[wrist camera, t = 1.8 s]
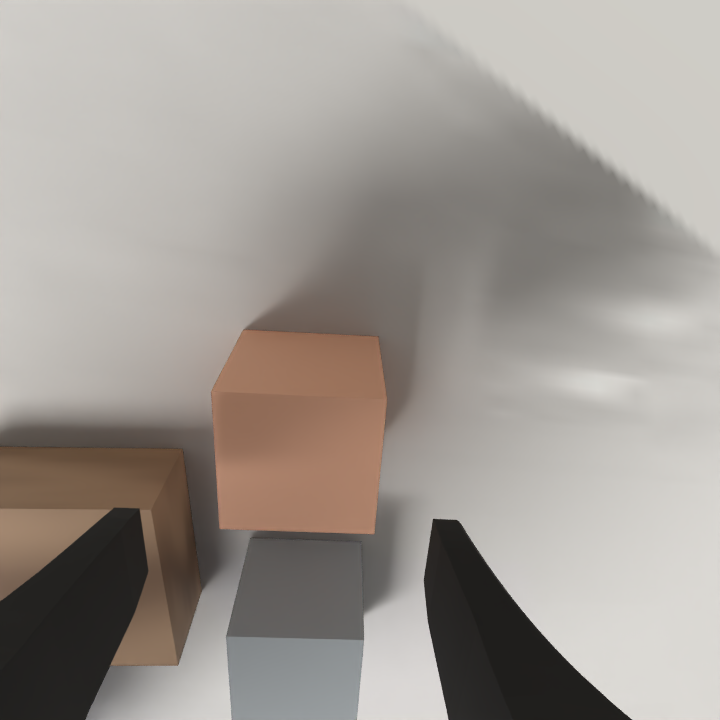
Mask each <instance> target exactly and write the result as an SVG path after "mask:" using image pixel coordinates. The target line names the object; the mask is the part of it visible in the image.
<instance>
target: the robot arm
mask: <svg viewBox="0 0 720 720" xmlns="http://www.w3.org/2000/svg"><path fill="white" fill-rule="evenodd" d="M148 571H149V570H148V563H147V556H146V549H145V543H144V536H143V529H142V522H141V515H140V508H116V507H114V508H113V509H112V510H111V511H109V512H108V513H107V514H106V515H105V516H103V517H102V518H101V519H100V520H99V521H98V522H96V523H95V524H94V525H93V526H92V527H91V528H89V529H88V530H87V531H86V532H85V533H84V534H83V535H81V536H80V537H79V538H78V539H77V540H76V541H74V542H73V543H72V544H71V545H70V546H69V547H67V548H66V549H65V550H64V551H63V552H62V553H60V554H59V555H58V556H57V557H56V558H54V559H53V560H52V561H51V562H50V563H48V564H47V565H46V566H45V567H44V568H42V569H41V570H40V571H39V572H37V573H36V574H35V575H34V576H32V577H31V578H30V579H29V580H27V581H26V582H25V583H23V584H22V585H21V586H20V587H18V588H17V589H16V590H14V591H13V592H12V593H10V594H9V595H8V596H7V597H5V598H4V599H3V600H1V601H0V720H85V719H86V716H87V714H88V712H89V709H90V707H91V705H92V703H93V701H94V699H95V697H96V694H97V692H98V690H99V688H100V686H101V684H102V682H103V680H104V678H105V675H106V673H107V671H108V669H109V667H110V665H111V663H112V661H113V659H114V656H115V654H116V652H117V650H118V648H119V646H120V644H121V642H122V639H123V637H124V635H125V633H126V631H127V629H128V627H129V624H130V622H131V620H132V618H133V616H134V613H135V611H136V608H137V605H138V602H139V599H140V596H141V593H142V590H143V587H144V584H145V581H146V578H147V575H148ZM424 587H425V598H426V608H427V617H428V624H429V629H430V634H431V638H432V643H433V648H434V653H435V658H436V662H437V667H438V672H439V676H440V681H441V686H442V690H443V695H444V700H445V704H446V709H447V714H448V719H449V720H632V719H630V718H629V717H628V716H627V715H626V714H624V713H623V712H622V711H621V710H620V709H618V708H617V707H616V706H615V705H614V704H613V703H612V702H611V701H609V700H608V699H607V698H606V697H605V696H604V695H603V694H602V693H601V692H600V691H598V690H597V689H596V688H595V687H594V686H593V685H592V684H591V683H590V682H589V681H587V680H586V679H585V678H584V677H583V676H582V675H581V674H580V673H579V672H578V671H577V670H576V669H575V668H574V667H573V666H572V665H571V664H570V663H569V662H568V661H567V660H566V659H565V658H564V657H563V656H562V655H561V654H560V653H559V652H558V651H557V650H556V649H555V648H554V647H553V646H552V644H551V643H550V642H549V641H548V640H547V639H546V638H545V637H544V636H543V635H542V633H541V632H540V631H539V630H538V629H537V628H536V627H535V625H534V624H533V623H532V622H531V621H530V620H529V618H528V617H527V616H526V615H525V613H524V612H523V611H522V610H521V609H520V607H519V606H518V605H517V604H516V602H515V601H514V600H513V599H512V597H511V596H510V595H509V593H508V592H507V591H506V589H505V588H504V587H503V585H502V584H501V583H500V581H499V580H498V579H497V577H496V576H495V574H494V573H493V572H492V570H491V569H490V567H489V566H488V565H487V563H486V562H485V560H484V559H483V557H482V556H481V554H480V553H479V551H478V550H477V548H476V547H475V545H474V544H473V542H472V541H471V539H470V538H469V536H468V534H467V533H466V531H465V530H464V528H463V526H462V525H461V523H460V522H459V521H458V520H444V519H433V523H432V530H431V536H430V543H429V549H428V556H427V562H426V569H425V576H424Z"/></svg>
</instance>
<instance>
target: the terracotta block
mask: <svg viewBox="0 0 720 720" xmlns="http://www.w3.org/2000/svg"><path fill="white" fill-rule="evenodd" d="M211 398H212V414H213V430H214V446H215V463H216V479H217V495H218V511H219V527H220V529H235V530H264V531H294V532H323V533H352V534H374V532H375V521H376V511H377V500H378V490H379V479H380V469H381V459H382V448H383V438H384V427H385V417H386V406H387V395H386V388H385V381H384V374H383V367H382V360H381V353H380V346H379V339H378V336H358V335H339V334H319V333H300V332H280V331H261V330H243V331H242V333H241V335H240V337H239V339H238V341H237V343H236V345H235V347H234V349H233V351H232V352H231V354H230V356H229V358H228V360H227V362H226V364H225V366H224V368H223V370H222V371H221V373H220V375H219V377H218V379H217V381H216V383H215V385H214V387H213V389H212V391H211Z"/></svg>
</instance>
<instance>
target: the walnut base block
mask: <svg viewBox="0 0 720 720" xmlns="http://www.w3.org/2000/svg"><path fill="white" fill-rule="evenodd" d="M114 507H116V508H140V515H141V522H142V529H143V536H144V543H145V549H146V556H147V563H148V570H149V571H148V575H147V578H146V581H145V584H144V587H143V590H142V593H141V596H140V599H139V602H138V605H137V608H136V611H135V613H134V616H133V618H132V620H131V622H130V624H129V627H128V629H127V631H126V633H125V635H124V637H123V639H122V642H121V644H120V646H119V648H118V650H117V652H116V654H115V656H114V659H113V661H112V663H111V665H110V666H178V664H179V661H180V658H181V655H182V652H183V648H184V645H185V642H186V639H187V636H188V633H189V630H190V626H191V623H192V620H193V617H194V614H195V611H196V607H197V604H198V601H199V598H200V595H201V592H202V589H201V582H200V574H199V567H198V559H197V552H196V545H195V537H194V530H193V522H192V515H191V507H190V500H189V493H188V485H187V478H186V470H185V463H184V456H183V449H158V448H76V447H0V601H1V600H3V599H4V598H5V597H7V596H8V595H9V594H10V593H12V592H13V591H14V590H16V589H17V588H18V587H20V586H21V585H22V584H23V583H25V582H26V581H27V580H29V579H30V578H31V577H32V576H34V575H35V574H36V573H37V572H39V571H40V570H41V569H42V568H44V567H45V566H46V565H47V564H48V563H50V562H51V561H52V560H53V559H54V558H56V557H57V556H58V555H59V554H60V553H62V552H63V551H64V550H65V549H66V548H67V547H69V546H70V545H71V544H72V543H73V542H74V541H76V540H77V539H78V538H79V537H80V536H81V535H83V534H84V533H85V532H86V531H87V530H88V529H89V528H91V527H92V526H93V525H94V524H95V523H96V522H98V521H99V520H100V519H101V518H102V517H103V516H105V515H106V514H107V513H108V512H109V511H111V510H112V509H113V508H114Z"/></svg>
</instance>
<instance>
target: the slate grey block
mask: <svg viewBox="0 0 720 720" xmlns="http://www.w3.org/2000/svg"><path fill="white" fill-rule="evenodd" d="M226 641H227V656H228V670H229V685H230V700H231V715H232V720H357V712H358V701H359V690H360V679H361V668H362V657H363V646H364V621H363V583H362V545H361V542H360V541H329V540H297V539H266V538H250V541H249V545H248V549H247V553H246V557H245V562H244V566H243V570H242V574H241V578H240V582H239V586H238V590H237V594H236V598H235V603H234V607H233V611H232V615H231V619H230V623H229V627H228V631H227V635H226Z"/></svg>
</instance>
